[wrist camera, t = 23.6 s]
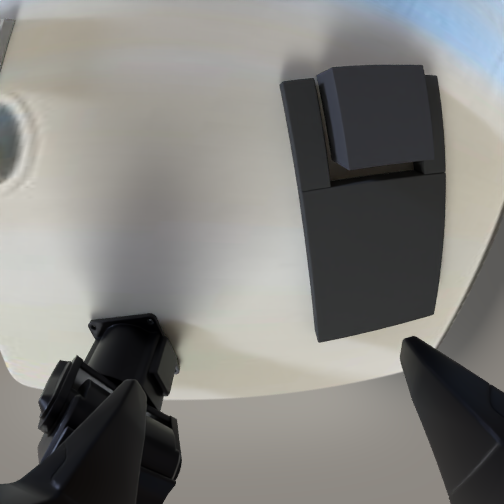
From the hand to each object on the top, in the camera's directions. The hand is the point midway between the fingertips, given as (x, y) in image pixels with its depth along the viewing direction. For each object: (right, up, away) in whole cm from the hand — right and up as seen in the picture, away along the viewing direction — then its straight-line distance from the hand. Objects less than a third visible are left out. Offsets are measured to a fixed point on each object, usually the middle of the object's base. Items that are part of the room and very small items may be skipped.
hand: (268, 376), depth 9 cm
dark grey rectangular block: (+6, +12, +7) cm, 16 cm away
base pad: (+8, +7, +10) cm, 14 cm away
